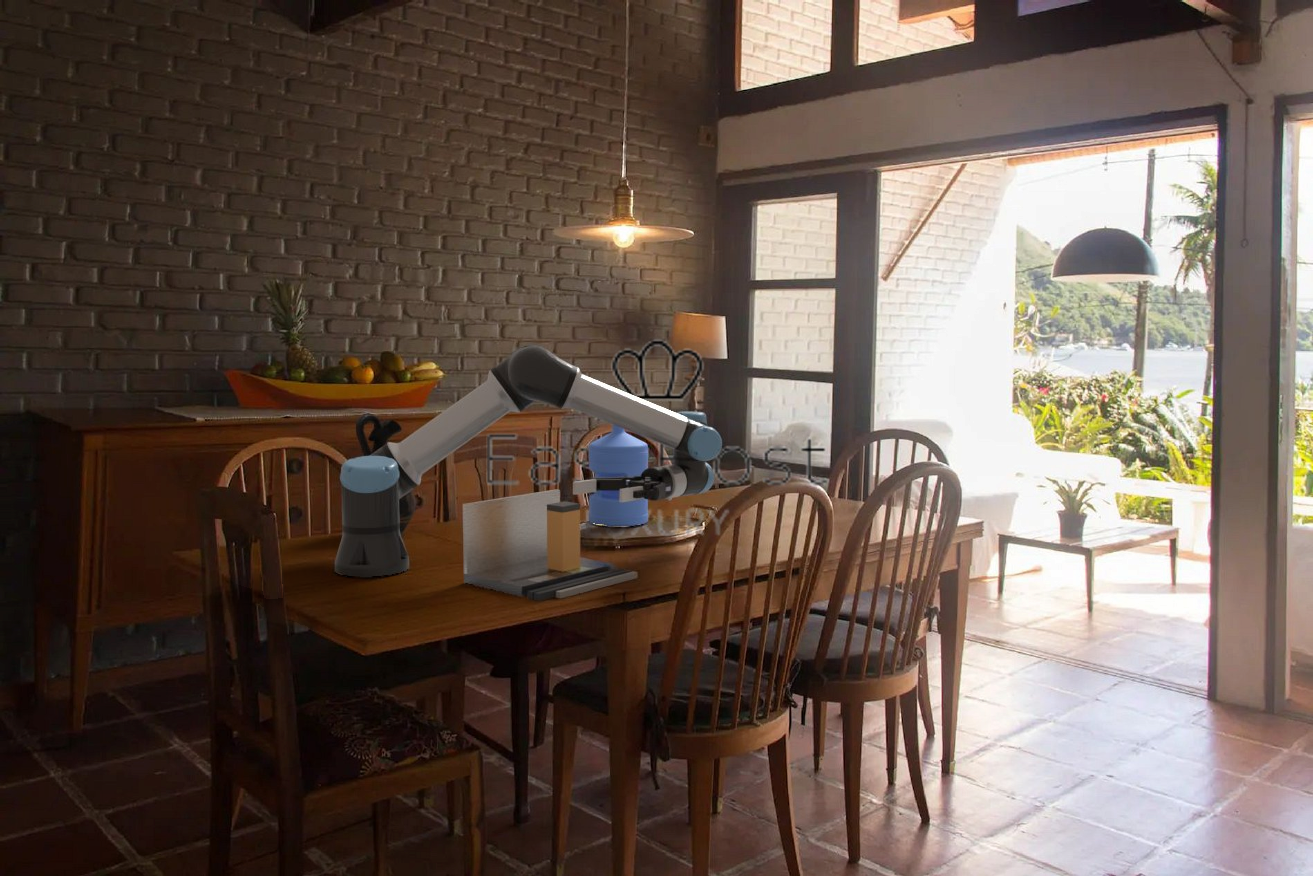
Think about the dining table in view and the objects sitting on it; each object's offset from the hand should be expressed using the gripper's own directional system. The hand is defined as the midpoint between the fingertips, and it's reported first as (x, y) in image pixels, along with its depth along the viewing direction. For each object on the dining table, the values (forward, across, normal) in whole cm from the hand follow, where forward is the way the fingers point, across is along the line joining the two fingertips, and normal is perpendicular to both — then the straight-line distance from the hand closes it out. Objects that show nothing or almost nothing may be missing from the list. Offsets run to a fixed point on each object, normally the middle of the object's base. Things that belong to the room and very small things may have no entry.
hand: (596, 492), depth 223 cm
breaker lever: (+10, -1, -14) cm, 18 cm away
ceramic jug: (+8, +65, -18) cm, 68 cm away
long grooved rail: (+13, -10, -17) cm, 24 cm away
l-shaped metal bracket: (+14, +3, -17) cm, 22 cm away
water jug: (-43, +33, -16) cm, 57 cm away
